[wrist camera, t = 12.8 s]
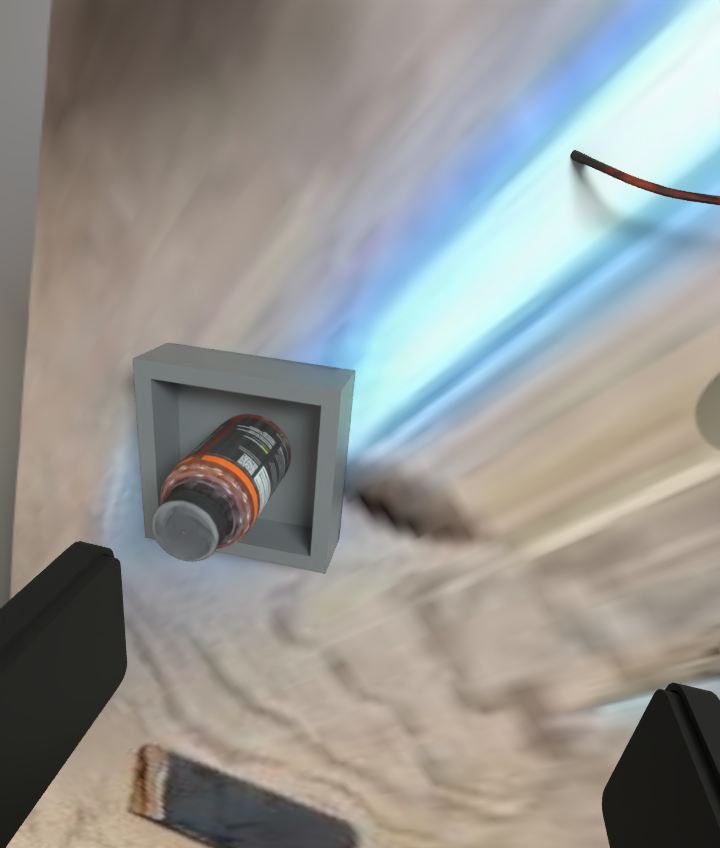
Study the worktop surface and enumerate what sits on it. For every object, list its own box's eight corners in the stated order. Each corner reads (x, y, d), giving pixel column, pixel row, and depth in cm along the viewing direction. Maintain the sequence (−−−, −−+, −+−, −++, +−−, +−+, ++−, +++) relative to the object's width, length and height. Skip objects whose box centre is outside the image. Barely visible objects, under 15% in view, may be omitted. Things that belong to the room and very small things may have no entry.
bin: (167, 342, 39) (132, 358, 35) (355, 370, 37) (341, 390, 33) (175, 507, 45) (145, 537, 41) (339, 538, 43) (325, 573, 39)
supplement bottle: (212, 469, 41) (127, 556, 31) (224, 400, 39) (136, 469, 29) (285, 494, 41) (223, 590, 31) (302, 425, 39) (241, 505, 28)
